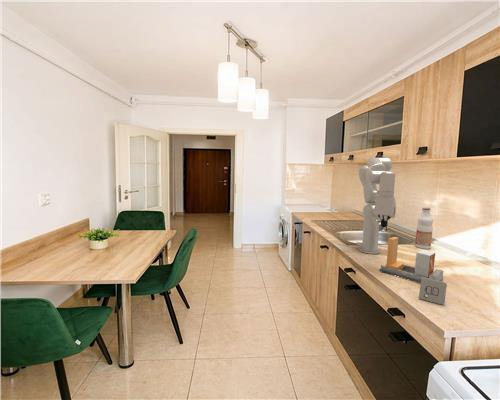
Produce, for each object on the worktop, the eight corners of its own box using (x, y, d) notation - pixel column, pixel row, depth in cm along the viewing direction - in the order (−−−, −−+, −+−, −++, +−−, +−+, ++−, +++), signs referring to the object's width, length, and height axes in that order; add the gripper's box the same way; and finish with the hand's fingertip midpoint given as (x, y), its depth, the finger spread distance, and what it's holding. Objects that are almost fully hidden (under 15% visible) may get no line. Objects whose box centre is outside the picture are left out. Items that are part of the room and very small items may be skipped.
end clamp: (385, 269, 154) (387, 239, 151) (392, 265, 160) (394, 236, 157) (396, 272, 149) (399, 241, 147) (403, 268, 155) (406, 238, 153)
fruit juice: (422, 249, 193) (426, 209, 189) (411, 245, 202) (415, 207, 198) (433, 248, 195) (438, 208, 191) (422, 244, 204) (426, 206, 200)
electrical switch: (418, 299, 123) (420, 278, 122) (419, 295, 127) (422, 275, 126) (444, 306, 117) (446, 284, 117) (445, 302, 121) (447, 281, 121)
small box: (427, 281, 139) (430, 255, 137) (413, 277, 144) (416, 252, 142) (433, 276, 144) (435, 252, 143) (419, 273, 149) (421, 249, 147)
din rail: (379, 271, 154) (380, 262, 153) (390, 265, 163) (391, 256, 162) (434, 287, 134) (435, 277, 134) (443, 279, 144) (444, 270, 143)
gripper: (369, 193, 157) (367, 225, 160) (397, 196, 146) (395, 230, 149) (375, 192, 162) (373, 224, 165) (403, 195, 151) (400, 228, 154)
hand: (383, 227), depth 157 cm, fingers closed
